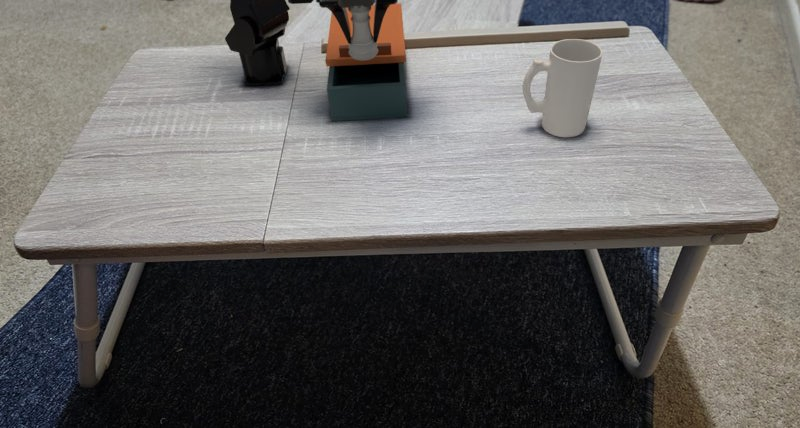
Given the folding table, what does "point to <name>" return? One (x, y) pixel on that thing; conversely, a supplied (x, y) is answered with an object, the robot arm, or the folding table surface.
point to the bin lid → (387, 42)
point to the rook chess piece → (361, 35)
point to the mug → (565, 86)
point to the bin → (367, 91)
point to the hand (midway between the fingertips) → (362, 41)
